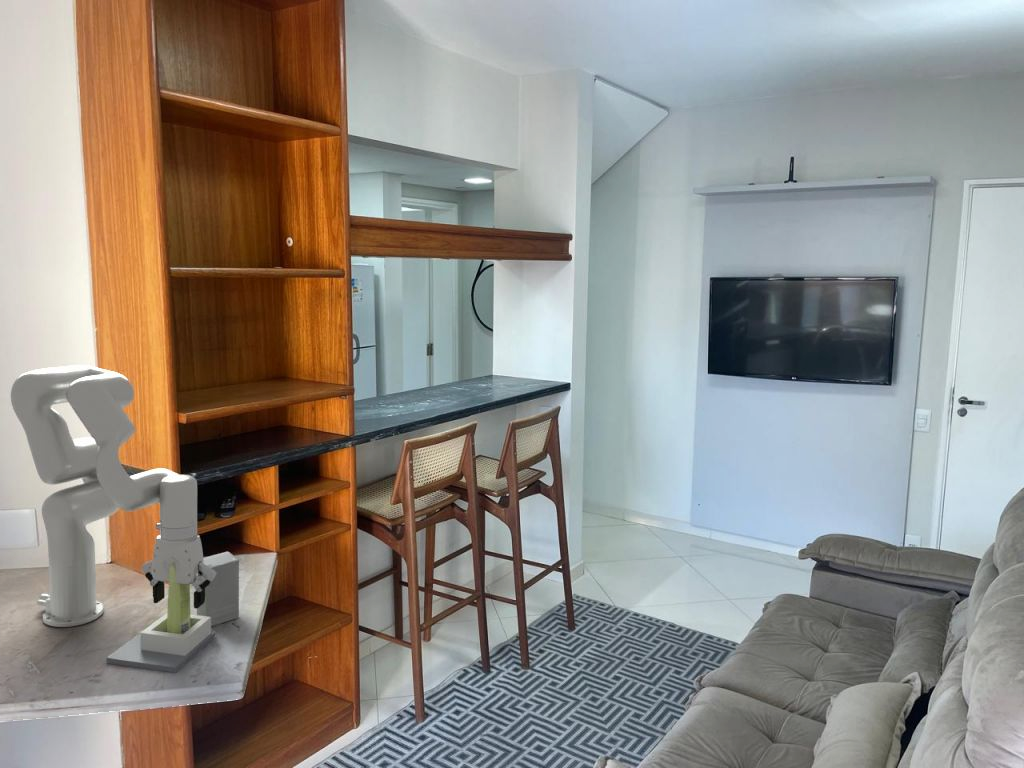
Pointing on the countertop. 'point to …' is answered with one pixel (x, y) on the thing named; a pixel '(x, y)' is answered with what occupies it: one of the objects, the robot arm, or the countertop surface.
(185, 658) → the dock
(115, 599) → the countertop surface
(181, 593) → the tube
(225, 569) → the skincare box
